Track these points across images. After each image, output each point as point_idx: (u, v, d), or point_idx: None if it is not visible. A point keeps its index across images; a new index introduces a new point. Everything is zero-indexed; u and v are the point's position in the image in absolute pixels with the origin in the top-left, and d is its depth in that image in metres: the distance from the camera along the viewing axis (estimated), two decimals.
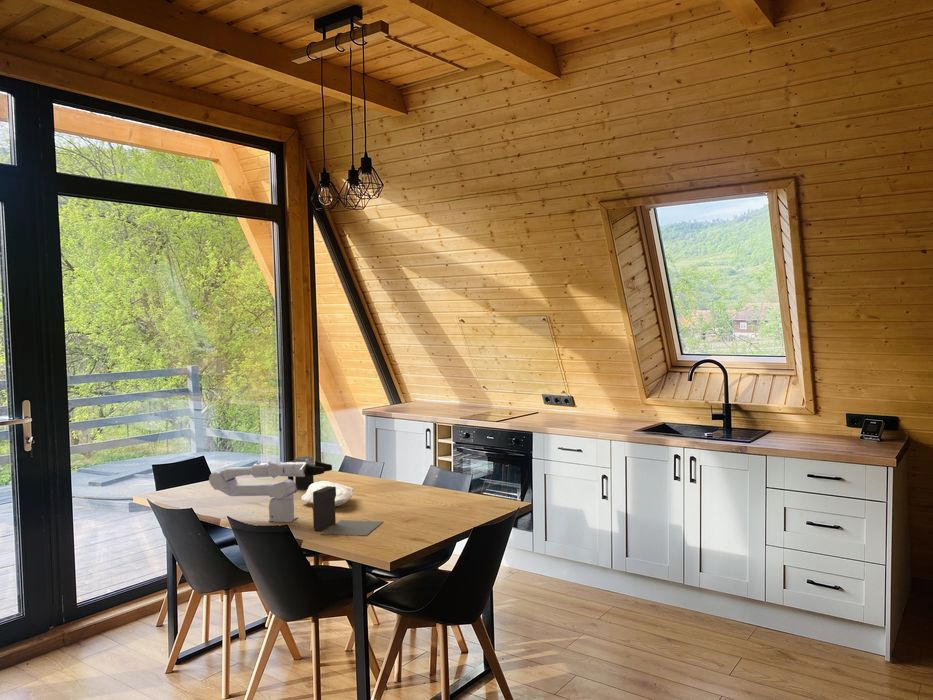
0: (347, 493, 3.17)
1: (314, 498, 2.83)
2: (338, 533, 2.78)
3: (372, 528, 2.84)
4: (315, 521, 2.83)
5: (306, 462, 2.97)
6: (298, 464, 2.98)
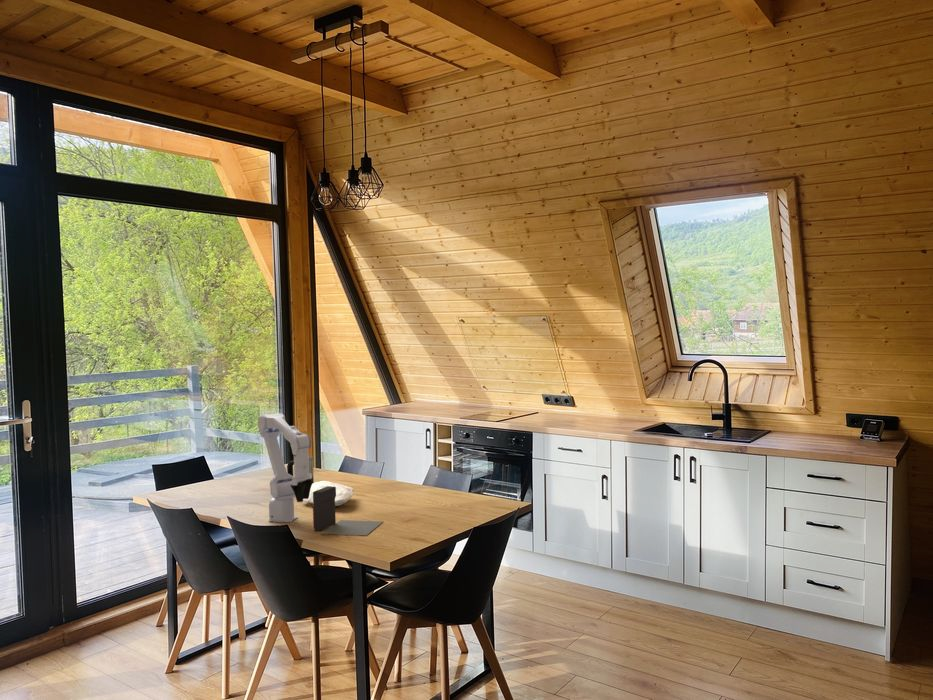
0: (347, 493, 3.17)
1: (314, 498, 2.83)
2: (338, 533, 2.78)
3: (372, 528, 2.84)
4: (315, 521, 2.83)
5: (307, 479, 2.88)
6: (305, 471, 2.87)
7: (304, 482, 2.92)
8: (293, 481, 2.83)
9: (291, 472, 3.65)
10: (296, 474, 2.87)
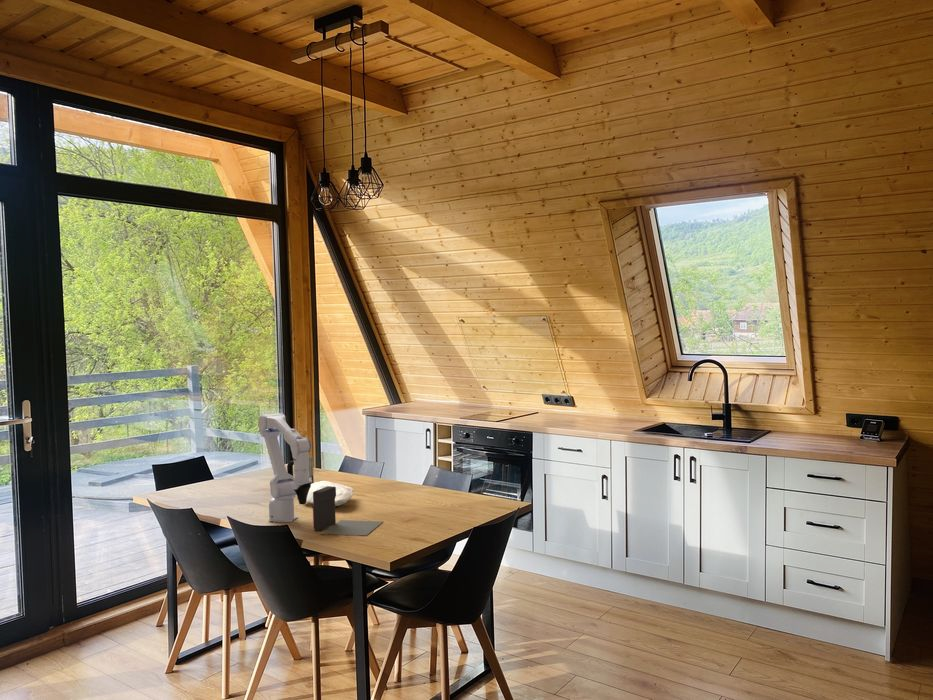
0: (347, 493, 3.17)
1: (314, 498, 2.83)
2: (338, 533, 2.78)
3: (372, 528, 2.84)
4: (315, 521, 2.83)
5: (307, 482, 2.88)
6: (305, 474, 2.88)
7: None
8: (293, 485, 2.83)
9: (291, 472, 3.65)
10: (296, 478, 2.87)
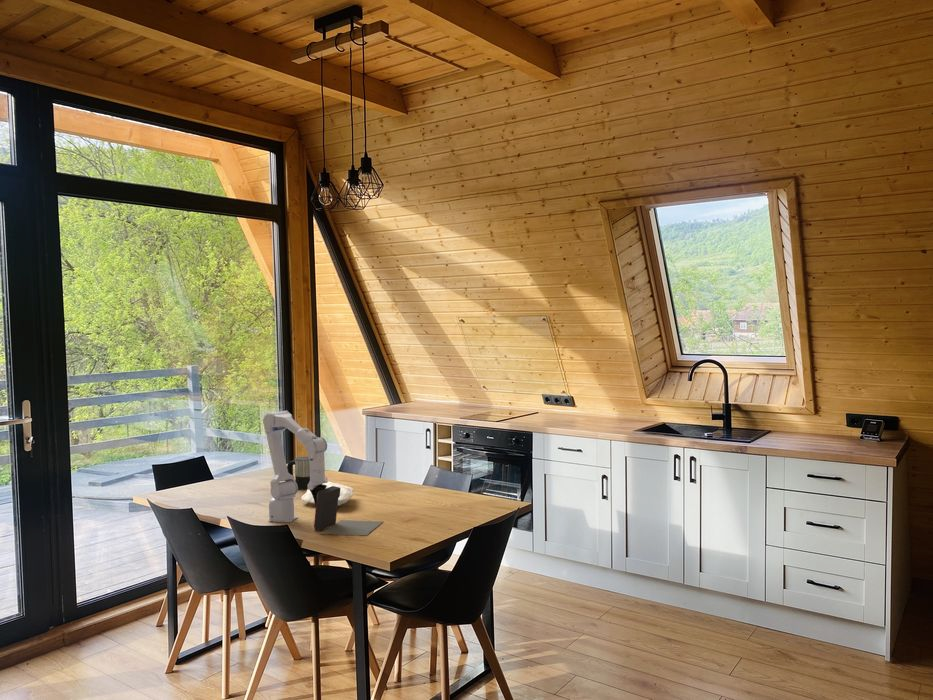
0: (347, 493, 3.17)
1: (318, 498, 2.83)
2: (338, 533, 2.78)
3: (372, 528, 2.84)
4: (316, 520, 2.83)
5: None
6: (320, 475, 2.86)
7: None
8: (309, 485, 2.81)
9: (291, 472, 3.65)
10: (312, 478, 2.86)
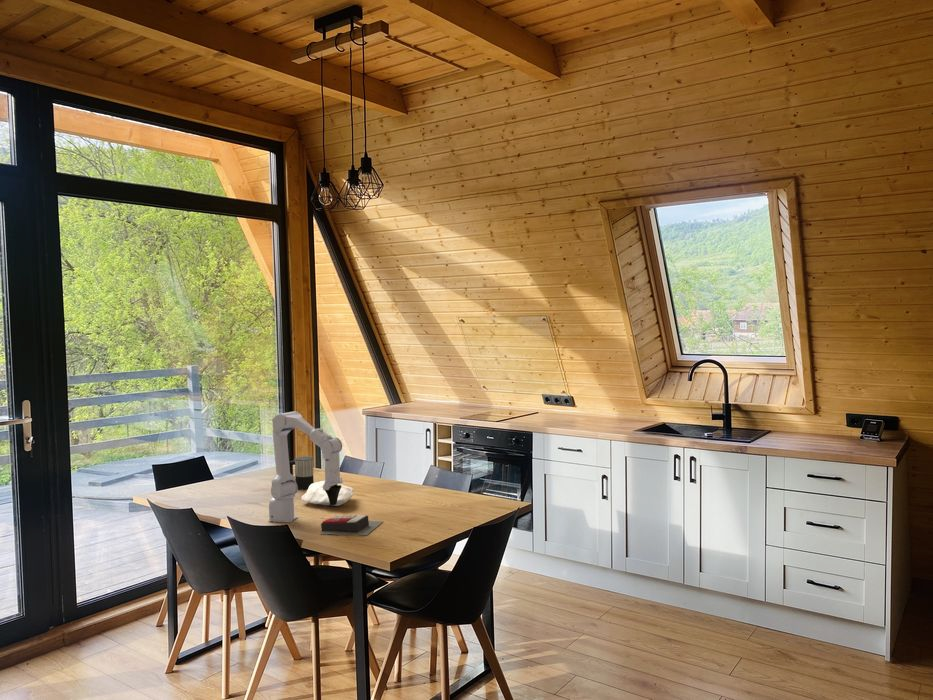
0: (347, 493, 3.17)
1: (350, 524, 2.79)
2: (338, 533, 2.78)
3: (372, 528, 2.84)
4: (329, 525, 2.81)
5: (338, 483, 2.85)
6: (336, 475, 2.85)
7: None
8: (324, 486, 2.80)
9: (291, 472, 3.65)
10: (327, 478, 2.85)
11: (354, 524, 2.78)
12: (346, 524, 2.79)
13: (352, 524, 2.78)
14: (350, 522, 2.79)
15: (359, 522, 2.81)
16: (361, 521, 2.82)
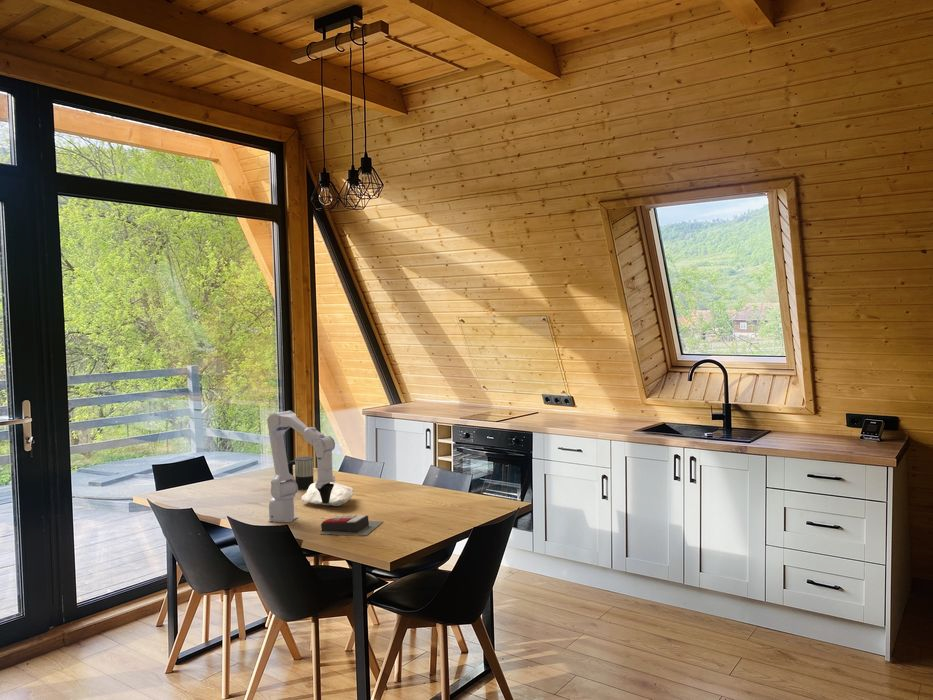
0: (347, 493, 3.17)
1: (350, 524, 2.79)
2: (338, 533, 2.78)
3: (372, 528, 2.84)
4: (329, 525, 2.81)
5: None
6: (328, 473, 2.86)
7: None
8: (317, 484, 2.81)
9: (291, 472, 3.65)
10: (319, 477, 2.85)
11: (354, 524, 2.78)
12: (346, 524, 2.79)
13: (352, 524, 2.78)
14: (350, 522, 2.79)
15: (359, 522, 2.81)
16: (361, 521, 2.82)
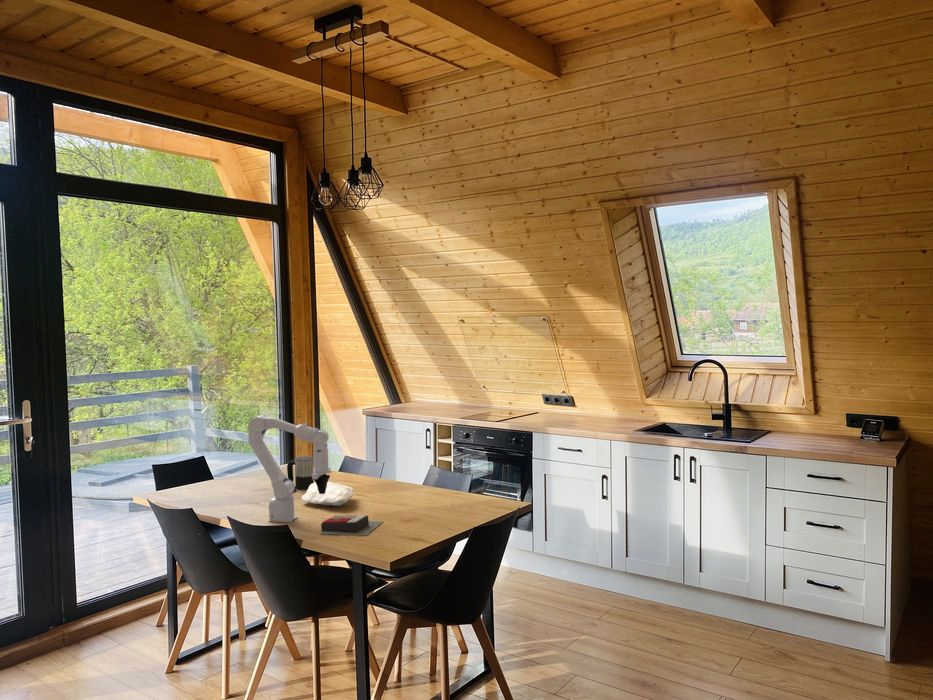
0: (347, 493, 3.17)
1: (350, 524, 2.79)
2: (338, 533, 2.78)
3: (372, 528, 2.84)
4: (329, 525, 2.81)
5: (326, 473, 2.99)
6: (324, 465, 2.99)
7: None
8: (313, 475, 2.94)
9: (291, 472, 3.65)
10: (316, 468, 2.98)
11: (354, 524, 2.78)
12: (346, 524, 2.79)
13: (352, 524, 2.78)
14: (350, 522, 2.79)
15: (359, 522, 2.81)
16: (361, 521, 2.82)
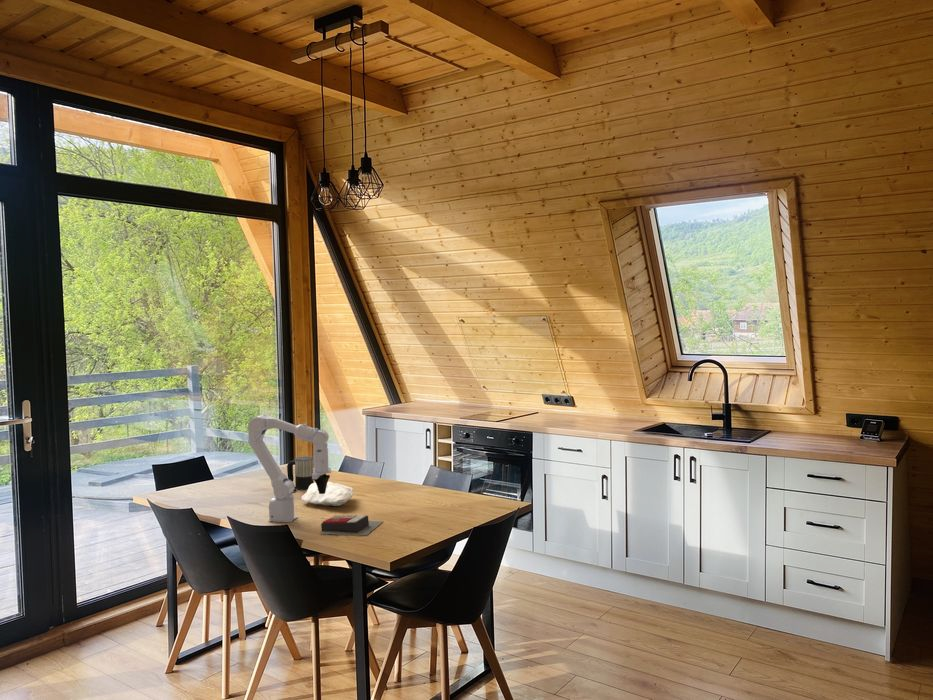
0: (347, 493, 3.17)
1: (350, 524, 2.79)
2: (338, 533, 2.78)
3: (372, 528, 2.84)
4: (329, 525, 2.81)
5: (326, 473, 2.99)
6: (324, 465, 2.99)
7: None
8: (313, 475, 2.94)
9: (291, 472, 3.65)
10: (316, 468, 2.98)
11: (354, 524, 2.78)
12: (346, 524, 2.79)
13: (352, 524, 2.78)
14: (350, 522, 2.79)
15: (359, 522, 2.81)
16: (361, 521, 2.82)
